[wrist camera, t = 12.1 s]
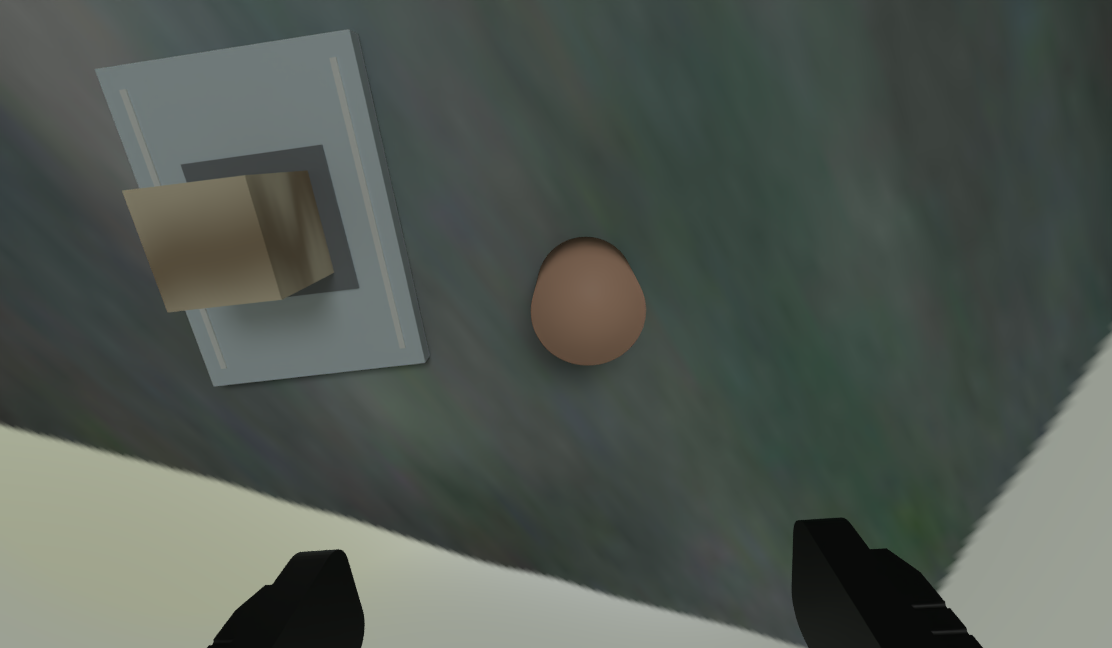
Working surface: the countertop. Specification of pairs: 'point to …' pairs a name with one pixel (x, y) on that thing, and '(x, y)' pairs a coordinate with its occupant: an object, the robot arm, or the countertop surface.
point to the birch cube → (231, 239)
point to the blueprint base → (273, 147)
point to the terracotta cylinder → (587, 302)
